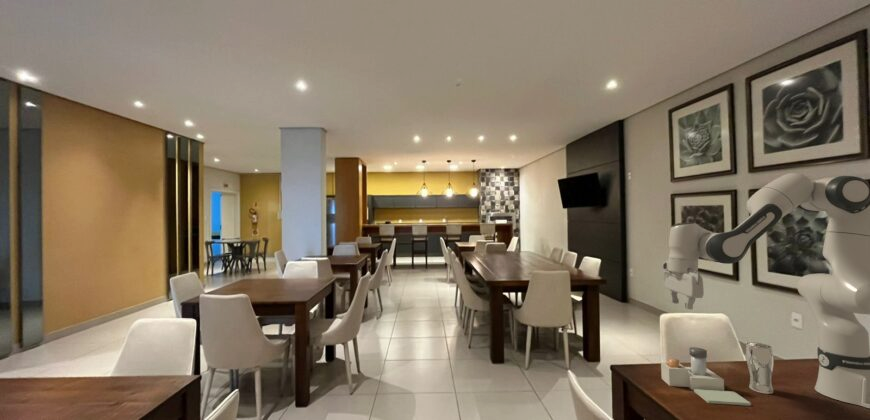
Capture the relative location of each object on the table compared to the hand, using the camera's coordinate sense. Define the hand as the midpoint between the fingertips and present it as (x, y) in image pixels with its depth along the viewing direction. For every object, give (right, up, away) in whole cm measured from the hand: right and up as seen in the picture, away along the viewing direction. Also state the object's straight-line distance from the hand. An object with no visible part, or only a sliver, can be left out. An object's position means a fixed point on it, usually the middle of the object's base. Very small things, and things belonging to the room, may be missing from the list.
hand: (681, 305), depth 127 cm
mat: (+5, -27, -12) cm, 30 cm away
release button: (-3, -23, 0) cm, 24 cm away
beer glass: (+23, -27, -6) cm, 36 cm away
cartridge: (+5, -27, -1) cm, 28 cm away
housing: (+2, -27, -1) cm, 27 cm away
